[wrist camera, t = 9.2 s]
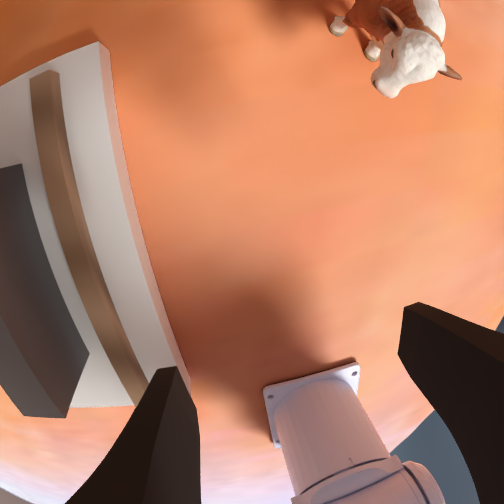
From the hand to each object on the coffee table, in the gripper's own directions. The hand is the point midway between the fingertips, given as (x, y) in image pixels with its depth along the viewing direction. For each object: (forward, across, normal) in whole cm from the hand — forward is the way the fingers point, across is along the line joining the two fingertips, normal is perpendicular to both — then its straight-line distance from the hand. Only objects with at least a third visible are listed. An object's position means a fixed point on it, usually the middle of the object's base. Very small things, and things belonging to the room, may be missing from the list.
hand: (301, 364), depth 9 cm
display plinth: (+10, +13, -2) cm, 16 cm away
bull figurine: (+10, -8, -14) cm, 19 cm away
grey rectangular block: (+8, +13, -2) cm, 15 cm away
